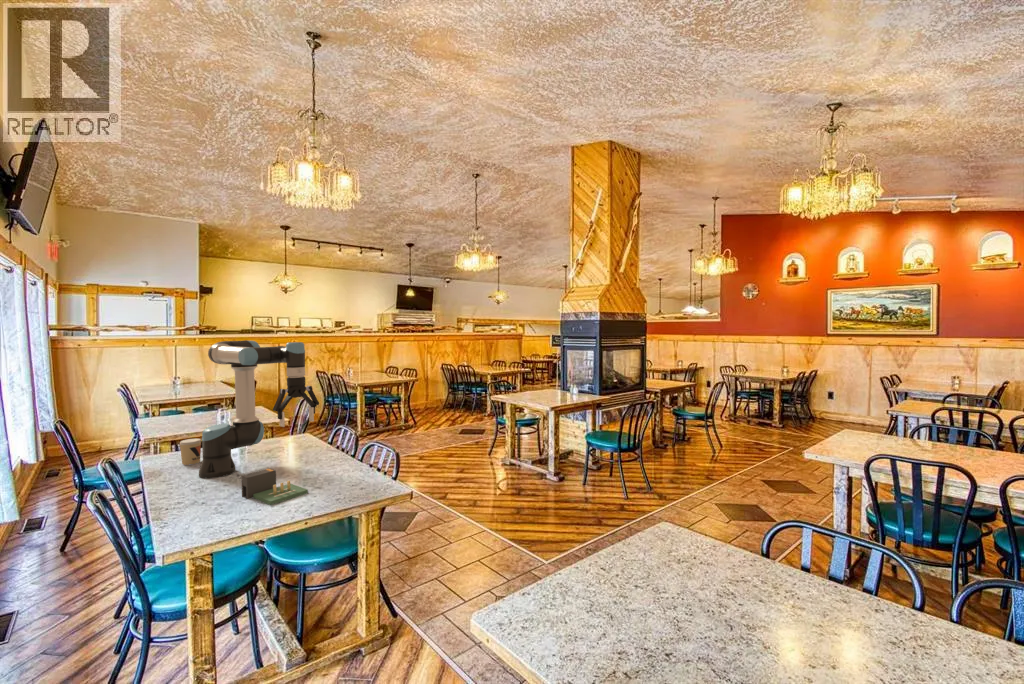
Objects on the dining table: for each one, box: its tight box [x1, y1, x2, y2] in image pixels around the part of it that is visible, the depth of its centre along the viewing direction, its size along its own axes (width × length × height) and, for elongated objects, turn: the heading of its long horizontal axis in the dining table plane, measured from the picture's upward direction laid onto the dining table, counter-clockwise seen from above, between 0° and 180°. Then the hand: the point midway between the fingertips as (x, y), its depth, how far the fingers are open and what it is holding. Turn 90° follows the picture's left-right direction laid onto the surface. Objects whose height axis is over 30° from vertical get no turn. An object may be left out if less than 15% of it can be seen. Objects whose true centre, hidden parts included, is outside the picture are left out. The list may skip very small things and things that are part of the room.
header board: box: [252, 480, 309, 506], centre depth 193 cm, size 14×16×6 cm
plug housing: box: [240, 467, 277, 500], centre depth 195 cm, size 5×12×9 cm, turn 145°
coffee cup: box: [179, 438, 202, 466], centre depth 241 cm, size 9×9×12 cm
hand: (297, 423), depth 205 cm, fingers open, 13 cm apart
